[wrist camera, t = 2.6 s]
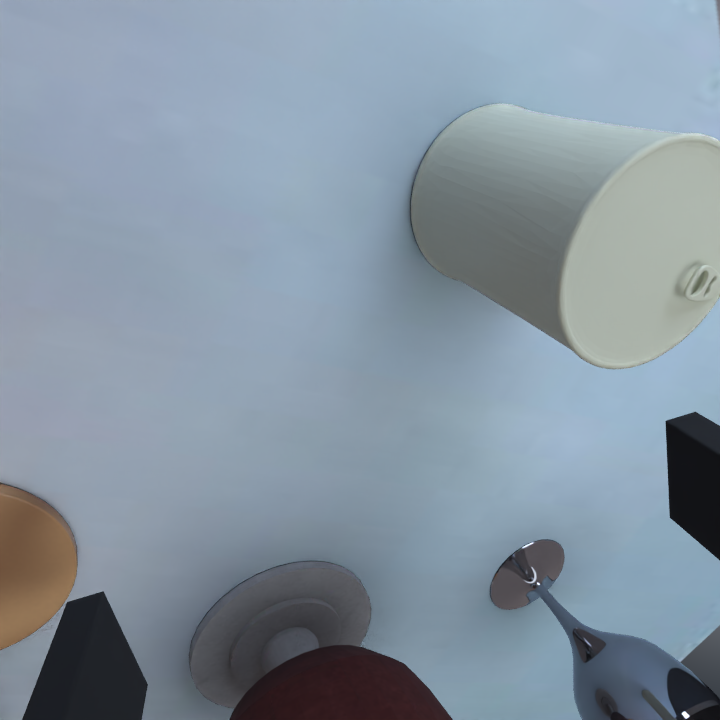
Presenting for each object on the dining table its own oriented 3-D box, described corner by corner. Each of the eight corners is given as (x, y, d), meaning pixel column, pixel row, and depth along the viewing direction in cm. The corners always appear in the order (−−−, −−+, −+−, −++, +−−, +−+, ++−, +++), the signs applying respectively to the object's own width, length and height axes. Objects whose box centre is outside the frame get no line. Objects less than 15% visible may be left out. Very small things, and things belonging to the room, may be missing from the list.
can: (511, 298, 36) (676, 394, 26) (382, 253, 31) (525, 351, 22) (586, 144, 33) (801, 187, 24) (457, 71, 29) (659, 87, 19)
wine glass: (571, 521, 48) (742, 684, 36) (565, 588, 52) (717, 756, 40) (485, 559, 46) (636, 747, 34) (485, 627, 50) (621, 817, 38)
